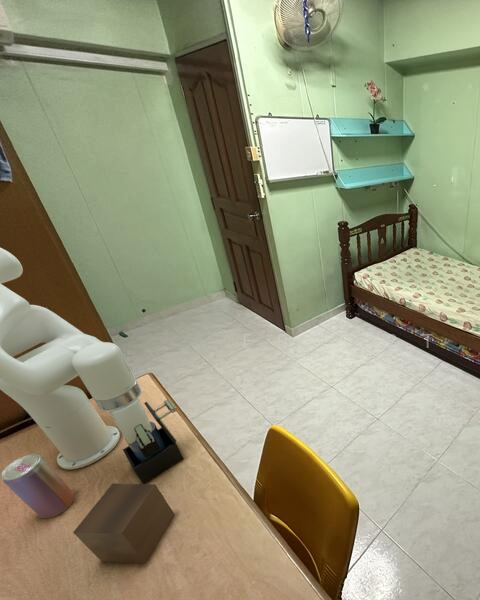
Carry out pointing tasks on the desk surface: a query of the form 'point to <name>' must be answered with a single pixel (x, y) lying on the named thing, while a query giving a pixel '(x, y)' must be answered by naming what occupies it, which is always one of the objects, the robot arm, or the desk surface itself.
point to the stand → (126, 523)
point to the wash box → (155, 460)
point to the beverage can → (38, 485)
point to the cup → (135, 445)
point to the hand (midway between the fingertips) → (147, 444)
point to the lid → (163, 415)
